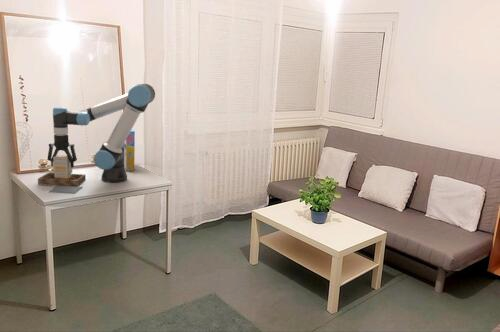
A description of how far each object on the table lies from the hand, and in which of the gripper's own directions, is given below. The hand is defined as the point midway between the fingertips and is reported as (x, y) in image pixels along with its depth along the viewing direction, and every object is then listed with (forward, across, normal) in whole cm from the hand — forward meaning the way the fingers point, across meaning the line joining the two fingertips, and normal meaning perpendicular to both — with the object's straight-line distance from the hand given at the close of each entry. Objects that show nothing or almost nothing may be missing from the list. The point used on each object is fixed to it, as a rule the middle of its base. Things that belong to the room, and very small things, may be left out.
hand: (62, 172), depth 249 cm
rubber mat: (+6, -6, +14) cm, 17 cm away
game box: (+7, -27, -43) cm, 51 cm away
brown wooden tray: (+6, 0, 0) cm, 6 cm away
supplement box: (+3, 0, 0) cm, 3 cm away
